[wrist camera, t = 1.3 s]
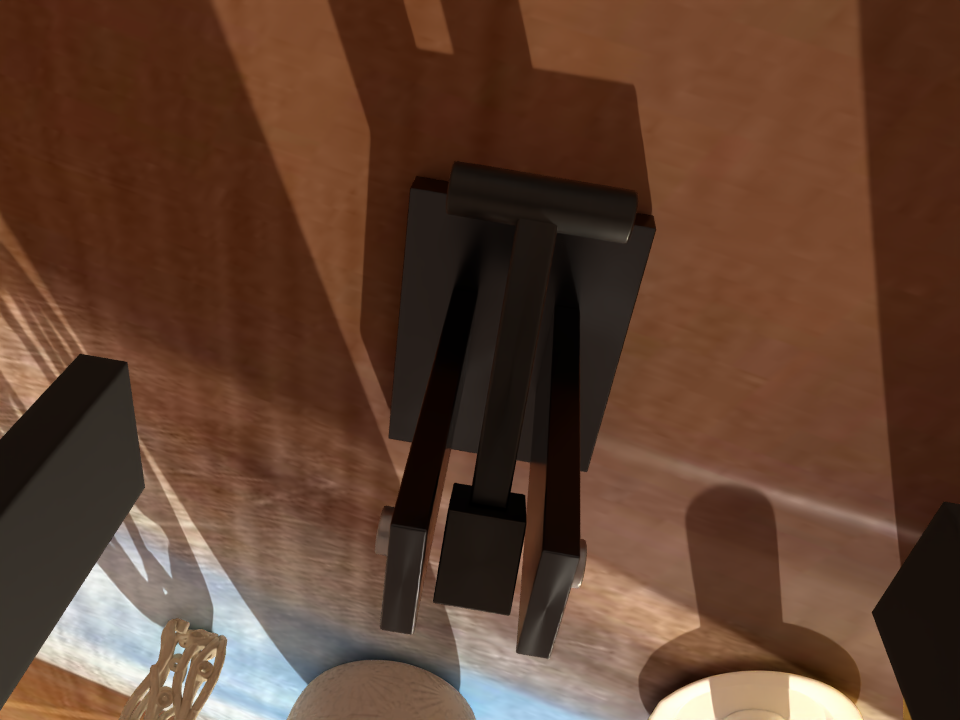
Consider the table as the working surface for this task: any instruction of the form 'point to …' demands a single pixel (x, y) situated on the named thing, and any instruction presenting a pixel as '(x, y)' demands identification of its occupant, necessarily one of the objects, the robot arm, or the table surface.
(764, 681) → the candle holder
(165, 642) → the bracelet
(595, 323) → the bracket
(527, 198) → the lever
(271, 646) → the table surface
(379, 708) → the planter
